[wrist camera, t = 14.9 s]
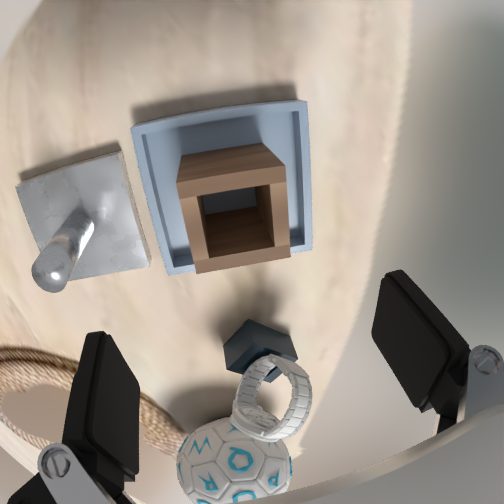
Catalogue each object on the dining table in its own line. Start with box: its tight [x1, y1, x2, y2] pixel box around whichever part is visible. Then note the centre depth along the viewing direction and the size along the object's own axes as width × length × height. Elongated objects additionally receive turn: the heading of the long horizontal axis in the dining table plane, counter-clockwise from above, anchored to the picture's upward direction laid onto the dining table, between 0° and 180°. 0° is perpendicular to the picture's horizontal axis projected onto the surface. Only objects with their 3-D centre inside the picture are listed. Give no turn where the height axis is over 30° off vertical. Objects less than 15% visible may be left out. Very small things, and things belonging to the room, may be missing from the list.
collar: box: [176, 143, 291, 274], centre depth 19 cm, size 6×6×6 cm
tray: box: [130, 99, 312, 276], centre depth 21 cm, size 11×11×2 cm
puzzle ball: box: [176, 417, 292, 504], centre depth 34 cm, size 15×15×15 cm
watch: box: [223, 319, 312, 442], centre depth 27 cm, size 6×8×11 cm
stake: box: [15, 150, 151, 293], centre depth 18 cm, size 9×9×8 cm
